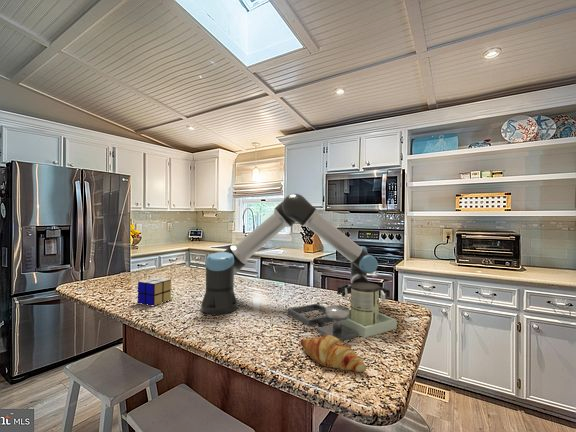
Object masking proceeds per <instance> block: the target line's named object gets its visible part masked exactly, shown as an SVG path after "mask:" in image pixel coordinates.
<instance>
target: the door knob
mask: <svg viewBox="0 0 576 432" xmlns="http://www.w3.org/2000/svg"><path fill="white" fill-rule="evenodd" d="M349 310H350V308H349V307H347V306H344V305H337V304H335V305H334V304H333V305H327V306H326V313H325V316H326V317H328V318H330V319H333V321H332V324H328V325H327V324H325V322H324V323H322V322H320V323H318V324H317V325H318V327H316V332H317V333H319V334H320V335H322V336H324V335H325V334H326V335H331V336H334V337H337V338H338V339H339V340H340V341H341V342H343V341H347V340H350V339H353V338H357V337H359V335H358V332H356V331H354V330H352V329H350V328H348V327H346V326H344V325H342V320H345V319H348V318H349Z"/></svg>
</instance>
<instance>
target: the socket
mask: <svg viewBox="0 0 576 432" xmlns="http://www.w3.org/2000/svg"><path fill="white" fill-rule="evenodd" d="M326 307H327V306H326ZM326 307H325V306H324V305H322V304H319V303H313V304H308V305H302V306H301V305H300V306H297V307H296V306H295V307H291V308H290V307H289V308H287V315H289V316H291V317H292V318H295V319H296V320H298V321H300V322H301V323H303V324H305V325H306V326H307V327H310V326H315V325H318V323H320V322H322V323H324V324H325V323H328V322H333V319H330V318H328V317H326V315H323V316H318V317H314V318H308V317H307V316H304V315H303V314H301V313H303V312H309V311H314V310H317V311H320V312H322V313H324V314H326Z"/></svg>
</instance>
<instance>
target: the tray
mask: <svg viewBox="0 0 576 432" xmlns="http://www.w3.org/2000/svg"><path fill="white" fill-rule="evenodd" d="M397 324H398V323H397V318H393V317H391V316H389V315H386V314H384V313H380V312H379V323H376V324H372V325H368V326H363V325H361V324H359V323H356V322H354V321H352V320H351V309H349V318H348V319H345V320H342V325H344V326H346V327H348V328H350V329H352V330H354V331H356V332H358V336H361V337H363V338H364V339H365V338H369V337H373V336H376V335H380V334H382V333H387V332H389V331H393V330H394V331H395V330H397V327H398V326H397Z"/></svg>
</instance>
